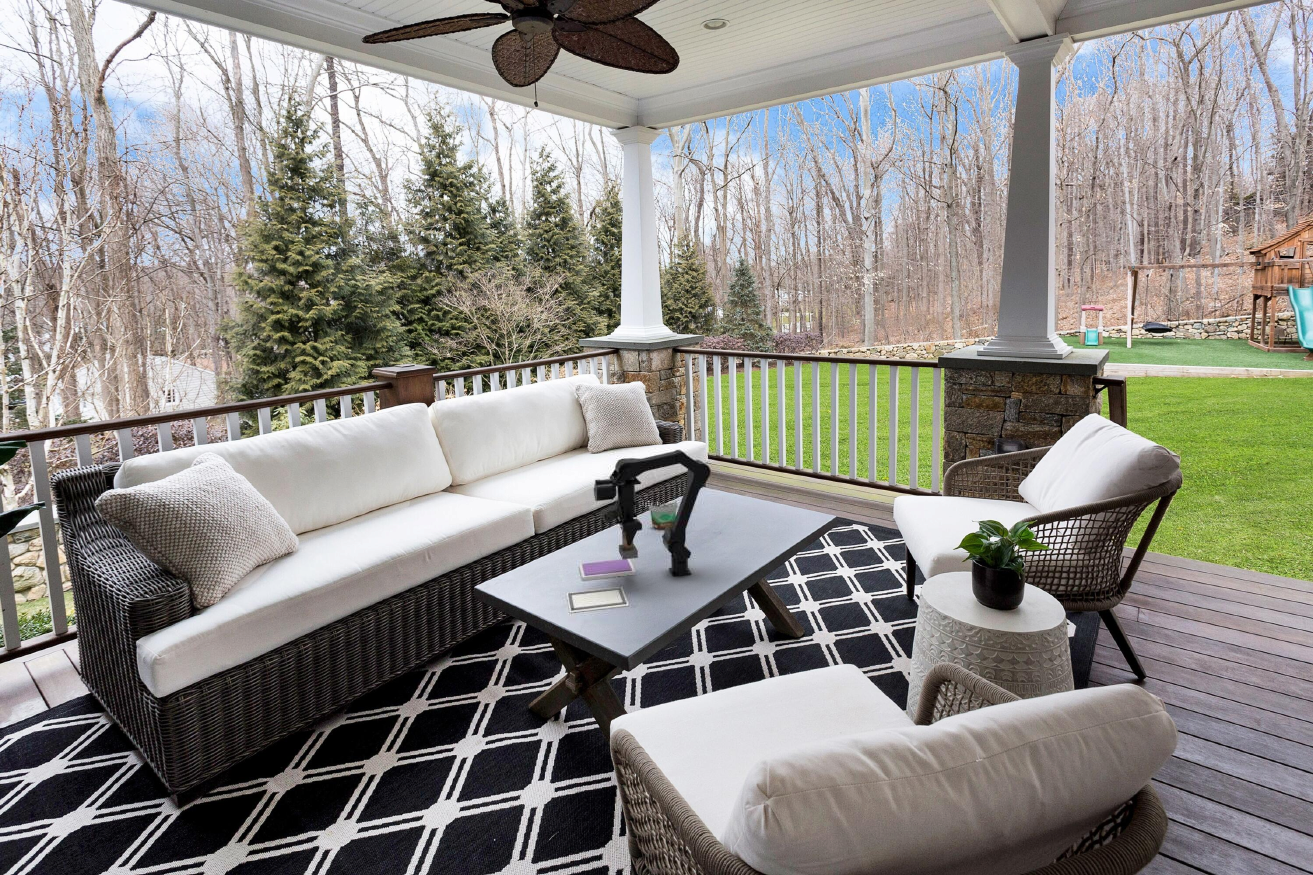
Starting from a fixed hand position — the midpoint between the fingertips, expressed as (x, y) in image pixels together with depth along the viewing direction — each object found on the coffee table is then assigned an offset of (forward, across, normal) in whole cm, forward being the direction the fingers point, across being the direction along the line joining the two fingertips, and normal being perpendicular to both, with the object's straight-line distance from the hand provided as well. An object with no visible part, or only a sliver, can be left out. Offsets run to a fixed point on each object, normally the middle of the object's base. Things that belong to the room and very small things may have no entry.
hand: (628, 543), depth 227 cm
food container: (+13, -45, +24) cm, 53 cm away
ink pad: (+13, -9, -6) cm, 17 cm away
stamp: (+4, 0, 0) cm, 4 cm away
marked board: (+13, +12, -13) cm, 22 cm away
